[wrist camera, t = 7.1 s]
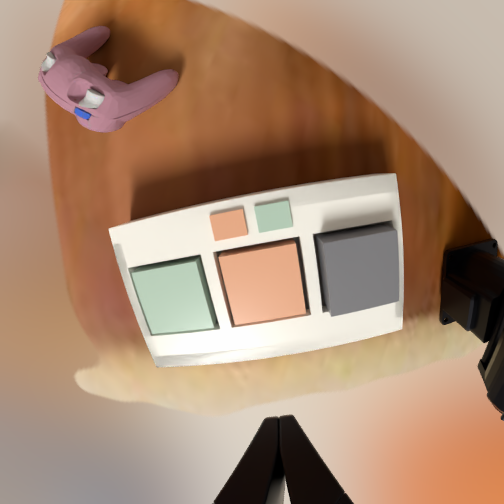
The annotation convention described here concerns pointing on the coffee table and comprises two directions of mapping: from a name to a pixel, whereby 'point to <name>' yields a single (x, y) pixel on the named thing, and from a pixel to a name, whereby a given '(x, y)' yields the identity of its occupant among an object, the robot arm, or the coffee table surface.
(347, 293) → the charcoal key
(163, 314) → the sage key
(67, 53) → the video game controller
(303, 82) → the coffee table surface
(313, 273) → the pad
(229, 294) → the terracotta key
